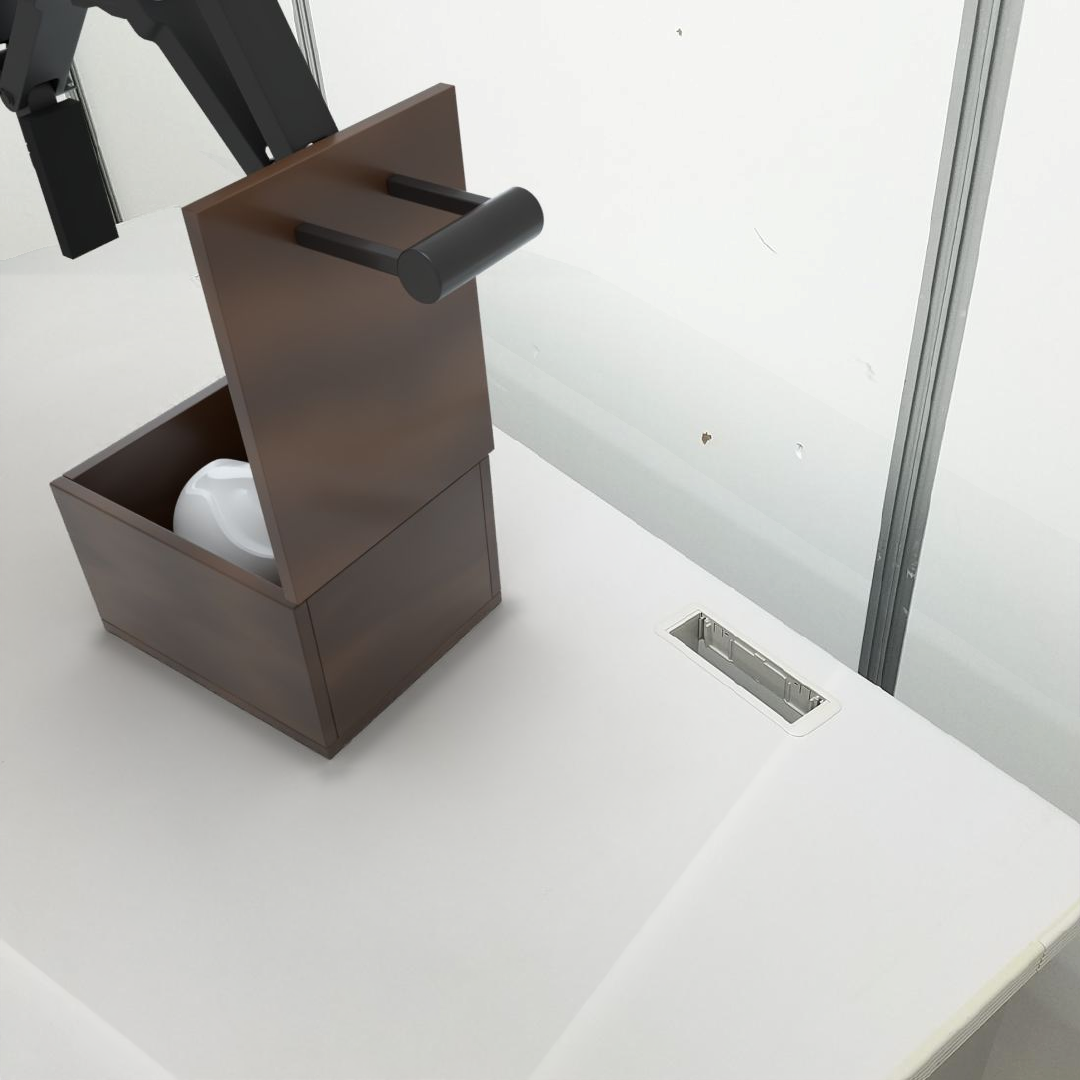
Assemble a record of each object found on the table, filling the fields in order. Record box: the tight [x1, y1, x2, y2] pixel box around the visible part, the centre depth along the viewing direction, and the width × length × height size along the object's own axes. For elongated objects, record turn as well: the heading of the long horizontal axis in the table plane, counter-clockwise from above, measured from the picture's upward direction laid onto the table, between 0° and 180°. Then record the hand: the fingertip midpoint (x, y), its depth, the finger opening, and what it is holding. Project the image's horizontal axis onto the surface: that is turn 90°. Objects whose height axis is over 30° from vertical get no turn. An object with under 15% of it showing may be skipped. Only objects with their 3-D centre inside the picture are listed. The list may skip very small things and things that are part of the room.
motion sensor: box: [173, 459, 283, 589], centre depth 66 cm, size 8×8×8 cm
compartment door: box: [180, 82, 545, 605], centre depth 50 cm, size 18×14×8 cm
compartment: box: [48, 375, 503, 760], centre depth 64 cm, size 17×14×10 cm
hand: (189, 286), depth 56 cm, fingers open, 13 cm apart
